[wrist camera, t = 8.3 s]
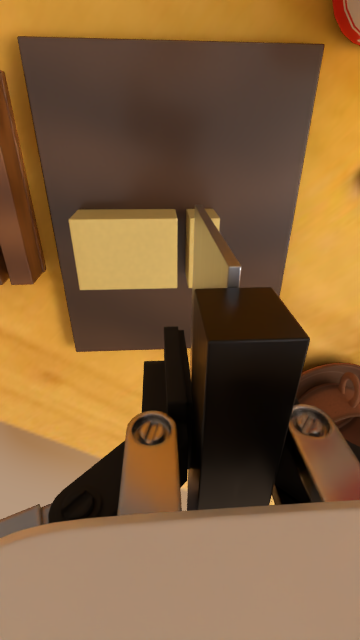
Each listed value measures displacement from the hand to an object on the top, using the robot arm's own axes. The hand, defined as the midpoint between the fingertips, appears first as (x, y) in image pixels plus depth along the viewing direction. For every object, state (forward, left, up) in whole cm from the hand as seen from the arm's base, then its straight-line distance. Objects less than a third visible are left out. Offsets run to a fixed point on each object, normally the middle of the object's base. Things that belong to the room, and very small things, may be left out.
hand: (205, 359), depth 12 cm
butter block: (0, -4, -15) cm, 15 cm away
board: (-1, 0, -16) cm, 16 cm away
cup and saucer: (+18, +16, -16) cm, 29 cm away
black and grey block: (0, 0, -4) cm, 4 cm away
